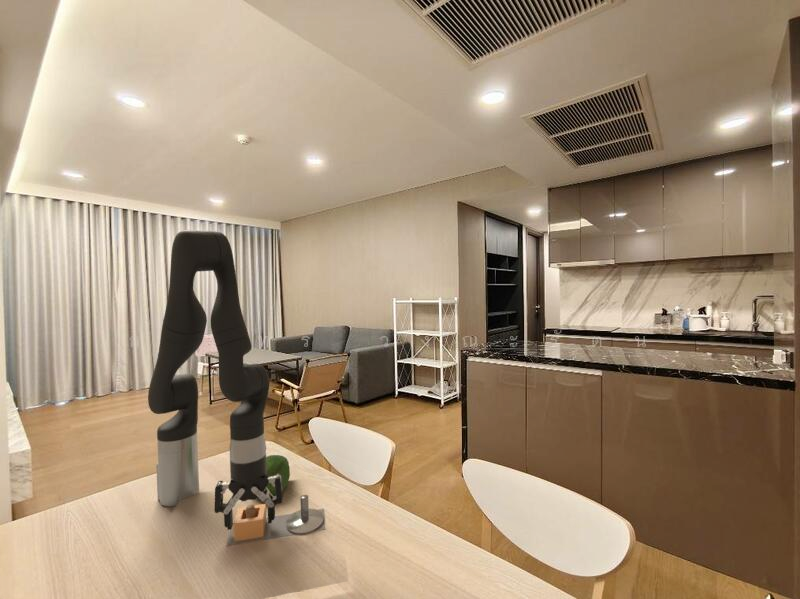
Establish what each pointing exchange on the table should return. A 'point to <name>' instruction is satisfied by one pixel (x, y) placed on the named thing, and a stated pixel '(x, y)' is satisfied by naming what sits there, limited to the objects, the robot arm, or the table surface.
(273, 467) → the fruit
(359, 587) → the table surface
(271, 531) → the board
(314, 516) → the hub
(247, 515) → the stand rod
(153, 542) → the table surface
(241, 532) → the collar
